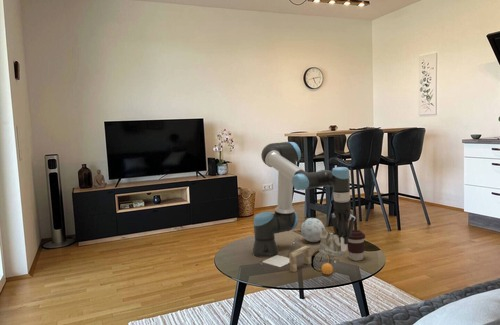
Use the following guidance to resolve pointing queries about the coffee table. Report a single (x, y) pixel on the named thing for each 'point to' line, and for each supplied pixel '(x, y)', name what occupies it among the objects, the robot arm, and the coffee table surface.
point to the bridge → (293, 254)
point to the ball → (327, 268)
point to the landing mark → (277, 261)
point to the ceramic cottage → (330, 244)
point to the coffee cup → (356, 245)
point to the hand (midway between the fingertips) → (344, 250)
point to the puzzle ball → (312, 229)
